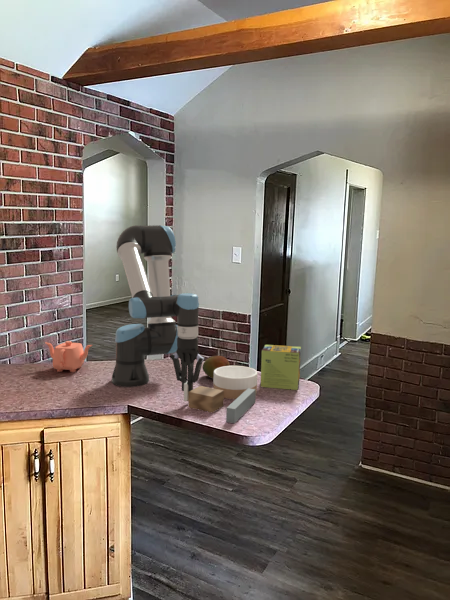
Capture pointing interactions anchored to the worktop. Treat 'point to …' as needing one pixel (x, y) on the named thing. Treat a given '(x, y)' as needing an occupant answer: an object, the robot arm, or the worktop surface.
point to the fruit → (214, 364)
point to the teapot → (68, 355)
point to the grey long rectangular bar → (240, 405)
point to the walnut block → (206, 399)
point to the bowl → (234, 380)
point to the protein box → (280, 367)
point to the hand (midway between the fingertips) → (187, 399)
